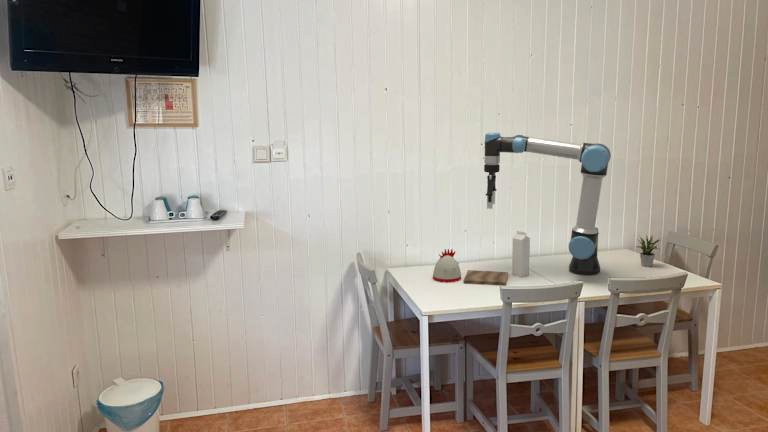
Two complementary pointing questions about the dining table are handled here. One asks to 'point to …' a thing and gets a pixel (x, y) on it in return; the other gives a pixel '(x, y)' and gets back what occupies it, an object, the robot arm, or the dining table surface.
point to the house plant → (647, 252)
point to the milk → (520, 254)
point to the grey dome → (447, 268)
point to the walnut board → (486, 277)
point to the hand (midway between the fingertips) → (490, 206)
